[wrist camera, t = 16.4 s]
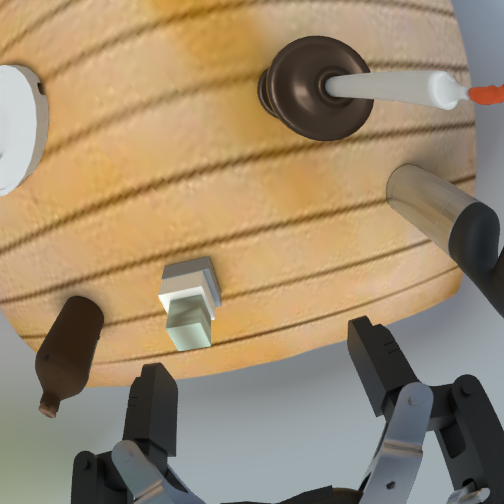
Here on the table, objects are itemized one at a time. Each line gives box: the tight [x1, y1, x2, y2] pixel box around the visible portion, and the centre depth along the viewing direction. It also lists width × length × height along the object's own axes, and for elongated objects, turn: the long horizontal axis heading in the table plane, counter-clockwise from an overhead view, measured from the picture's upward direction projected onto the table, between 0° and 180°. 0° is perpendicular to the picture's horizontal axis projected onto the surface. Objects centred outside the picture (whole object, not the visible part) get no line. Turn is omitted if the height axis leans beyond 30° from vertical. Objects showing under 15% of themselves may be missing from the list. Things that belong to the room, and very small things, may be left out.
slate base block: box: [162, 256, 221, 307], centre depth 47 cm, size 8×8×4 cm
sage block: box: [166, 294, 211, 351], centre depth 40 cm, size 5×5×6 cm
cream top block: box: [158, 271, 215, 320], centre depth 44 cm, size 7×7×4 cm
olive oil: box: [35, 296, 104, 418], centre depth 40 cm, size 11×11×25 cm
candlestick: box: [257, 36, 504, 141], centre depth 19 cm, size 11×11×35 cm
